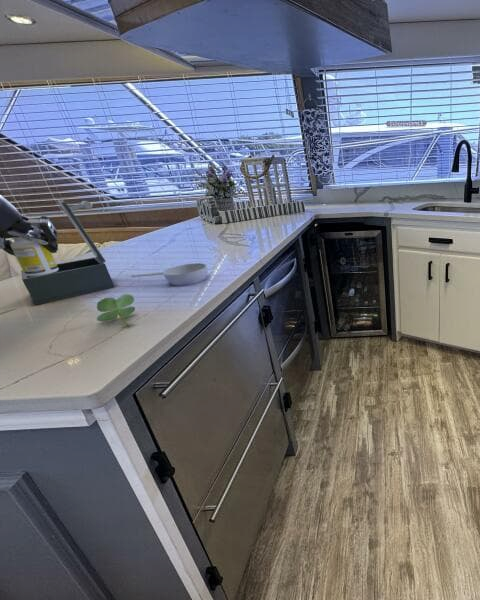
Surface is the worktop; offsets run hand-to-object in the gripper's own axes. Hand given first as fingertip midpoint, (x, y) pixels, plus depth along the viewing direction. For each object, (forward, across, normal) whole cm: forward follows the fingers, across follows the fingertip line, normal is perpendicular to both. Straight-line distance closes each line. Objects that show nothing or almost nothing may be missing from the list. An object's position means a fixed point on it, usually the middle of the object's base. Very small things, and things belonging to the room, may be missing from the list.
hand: (37, 251), depth 73 cm
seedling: (-4, -16, +24) cm, 29 cm away
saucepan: (+14, -22, +6) cm, 27 cm away
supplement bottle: (+2, 0, +5) cm, 5 cm away
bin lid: (+10, -3, -12) cm, 16 cm away
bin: (+19, +2, 0) cm, 19 cm away
